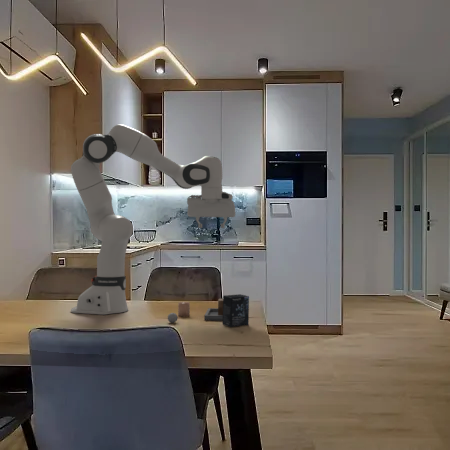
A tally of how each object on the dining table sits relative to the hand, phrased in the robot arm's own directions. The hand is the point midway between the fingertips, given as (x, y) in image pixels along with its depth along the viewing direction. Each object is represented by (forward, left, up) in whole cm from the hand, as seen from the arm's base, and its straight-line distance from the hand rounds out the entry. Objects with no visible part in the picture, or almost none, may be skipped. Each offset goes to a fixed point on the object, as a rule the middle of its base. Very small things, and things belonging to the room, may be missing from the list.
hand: (211, 228), depth 218 cm
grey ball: (-11, -31, -34) cm, 47 cm away
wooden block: (-9, -16, -34) cm, 39 cm away
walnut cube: (+7, -17, -34) cm, 38 cm away
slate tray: (+7, -17, -34) cm, 39 cm away
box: (+12, -32, -34) cm, 48 cm away
